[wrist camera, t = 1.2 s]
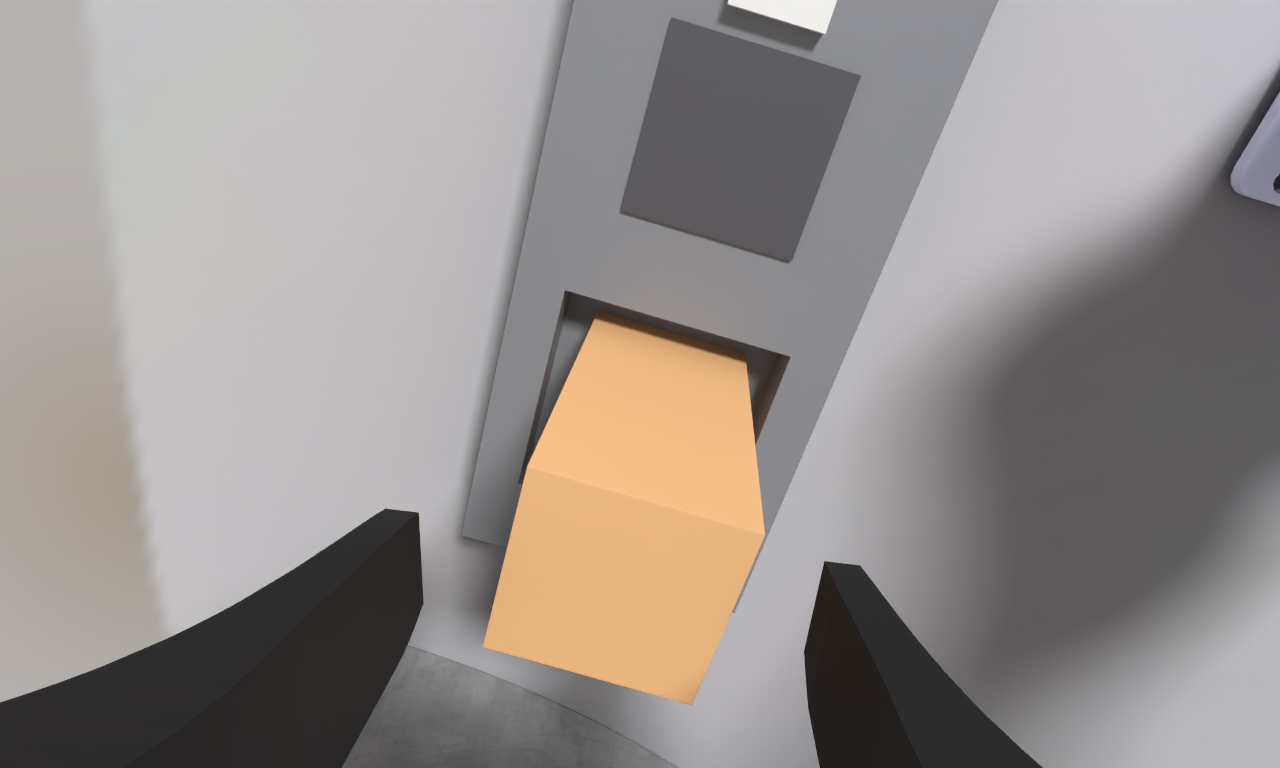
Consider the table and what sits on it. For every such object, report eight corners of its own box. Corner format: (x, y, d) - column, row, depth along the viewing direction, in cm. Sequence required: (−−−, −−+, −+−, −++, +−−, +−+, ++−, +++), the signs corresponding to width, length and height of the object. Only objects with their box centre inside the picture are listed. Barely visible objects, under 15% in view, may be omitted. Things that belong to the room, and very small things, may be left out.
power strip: (1175, -499, 13) (1272, -616, 10) (732, 568, 23) (734, 622, 20) (732, -648, 12) (736, -798, 10) (481, 496, 22) (456, 543, 20)
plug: (745, 354, 19) (764, 535, 12) (699, 479, 21) (691, 705, 14) (598, 310, 19) (527, 466, 12) (563, 439, 21) (482, 647, 13)
